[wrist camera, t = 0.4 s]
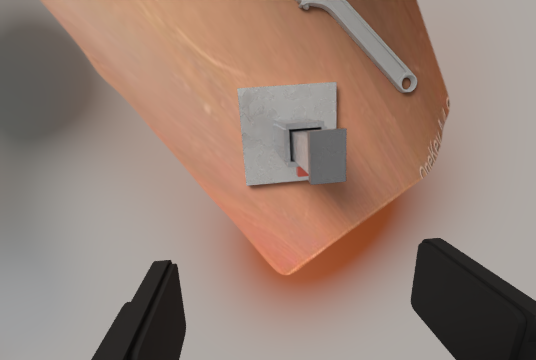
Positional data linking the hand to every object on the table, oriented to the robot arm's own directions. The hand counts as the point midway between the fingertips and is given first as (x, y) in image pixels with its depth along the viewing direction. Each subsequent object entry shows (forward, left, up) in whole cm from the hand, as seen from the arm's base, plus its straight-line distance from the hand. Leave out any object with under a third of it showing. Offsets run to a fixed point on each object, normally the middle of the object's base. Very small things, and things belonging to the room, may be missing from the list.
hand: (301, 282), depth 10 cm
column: (-2, +5, -30) cm, 30 cm away
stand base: (-2, +5, -32) cm, 32 cm away
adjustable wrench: (-16, +14, -32) cm, 39 cm away
